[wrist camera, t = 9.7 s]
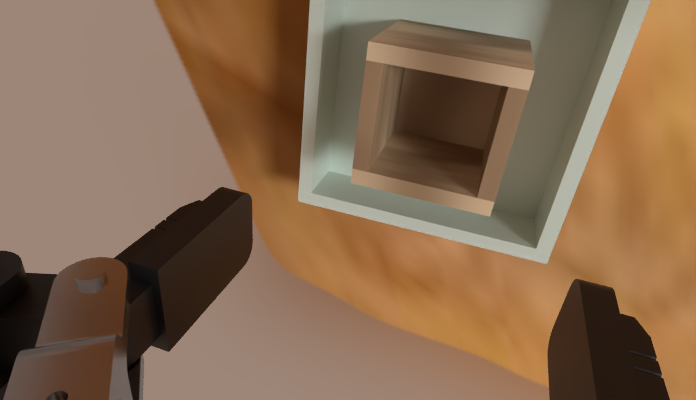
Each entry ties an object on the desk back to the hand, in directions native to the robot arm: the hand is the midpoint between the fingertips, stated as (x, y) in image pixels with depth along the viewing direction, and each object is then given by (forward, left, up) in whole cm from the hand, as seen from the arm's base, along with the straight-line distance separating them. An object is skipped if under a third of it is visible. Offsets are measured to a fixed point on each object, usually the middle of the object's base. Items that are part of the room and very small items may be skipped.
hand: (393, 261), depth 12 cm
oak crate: (0, 0, -14) cm, 14 cm away
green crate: (0, 0, -15) cm, 15 cm away
